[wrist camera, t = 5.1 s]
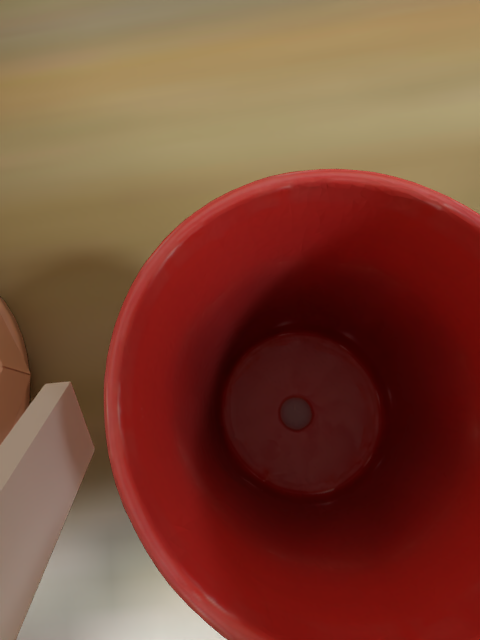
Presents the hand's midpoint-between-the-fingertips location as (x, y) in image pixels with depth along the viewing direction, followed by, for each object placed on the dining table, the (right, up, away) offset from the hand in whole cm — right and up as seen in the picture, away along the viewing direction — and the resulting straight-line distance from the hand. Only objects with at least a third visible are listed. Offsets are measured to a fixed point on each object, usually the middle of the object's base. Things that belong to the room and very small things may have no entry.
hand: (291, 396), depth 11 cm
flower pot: (+1, -2, +6) cm, 6 cm away
